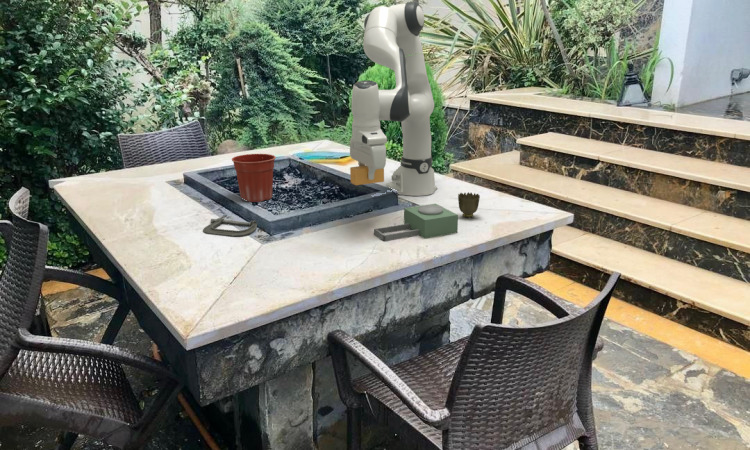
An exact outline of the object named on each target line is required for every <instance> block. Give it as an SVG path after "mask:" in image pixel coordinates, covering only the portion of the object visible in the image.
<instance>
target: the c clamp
mask: <svg viewBox="0 0 750 450" xmlns="http://www.w3.org/2000/svg"><path fill="white" fill-rule="evenodd" d="M224 218H226V215H223V216H220V217H218V218H210V224H208V225H206V226H205V227H203V229H202V232H203V233H204V234H206V235H212V236H220V237H221V236H222V237H232V238H242V237H246V236H250V235H251V234H252V233H254V232H255V231H256V230H257V228H258V222H257V221H256V220H251V221H250V222H248V221H238V220H237V221H236V220H226V219H224ZM228 224H229V225H230V226H238V227H239V226H241V227H247V228H246V229H242V230H233V229H232V230H231V229H222V228H219V227H220V226H222V225H228Z"/></svg>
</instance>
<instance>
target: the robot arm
mask: <svg viewBox="0 0 750 450" xmlns="http://www.w3.org/2000/svg"><path fill="white" fill-rule="evenodd" d="M363 24H364V26H363V27H364V35H363V42H362V43H363V51H364V53H365V55H366V57H367V58H368V59H369V60H371V61H372V62H373V63H375V64H377V65H381V66H383V67H386V68H388V69H390V70H392V71H393V72H394V77H395V87H394V88H393V89H379V85H378V83H377V81H374V80H367V79H366V80H359V81H357V82H355V83H354V84H353V86H352V93H351V102H350V103H351V113H352V122H351V132H352V134H351V135H352V136H351V137H350V142H349V156H350V158H351V159H353V160H355V161H356V162H357V163H358V165H357V166H366V165H367V166H368V169H369V172H368V174H367V178H368V179H369V180H373V179H374V173H375V170H376V169H383V168H384V169H385V167H386V164H387V163H386V161H387V148H386V144H387V143H388V137H387V136H386V134H384V132H383V130H382V129H381V121H392V122H399V123H401V132H402V156H401V158H400V166H398V167H397V168H396V169H395V170H394V171H393V172H392V175H391V180H392V181H389V182H387V183H386V186H387V188H389V187H390V188H392V189H395V190H397V191H398V194H399V195H401V196H402V195H403V196H410V197H411V196H412V197H413V196H414V197H417V196H418V197H420V196H428V195H432V194H434V193H435V192H436V190H438V186H437V185H436V181H435V178H436V177H435V170H434V168H432V166H433V157H432V132H431V122H430V117H431V115H432V114H433V111H434V110H435V101H434V97H433V92H432V88H431V85H430V81H429V78H428V74H427V73H428V72H427V68H426V61H425V57H424V50H423V45H422V41H421V38H420V36H419V35H420V33H421V32H422V30H423V28H424V25H425V14H424V10H423V8H422V6H421V5H420V4H419V3H418V2H416V1H410V2H409V1H408V2H406V3H398V4H394V5H390V6H385V5H384V6H383V5H380V6H379V5H378V6H376V7H375V8H373V9H372V10H371V11H370V12H369V13H368V14H367V15H366V17H365V19H364V21H363ZM390 188H389V189H390ZM398 194H397V195H398Z"/></svg>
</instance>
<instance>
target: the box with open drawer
mask: <svg viewBox="0 0 750 450" xmlns="http://www.w3.org/2000/svg"><path fill="white" fill-rule="evenodd" d="M403 214H404V215H403V223H402V224H395V225H391V226H383V227H378V228H374V229H373V235H374V236H375V237H377V238H378V239H380V240H381V241H383V242H388V241H394V240H398V239H399V240H400V239H405V238H409V237H415V236H416V237H417V236H420V237H421V238H424V239H429V238H434V237H439V236H448V235H451V234H456V233H458V227H459V223H458V222H459V214H457V213H456V212H453V211H452V210H449V209H447V208H445V207H443V206H441V205H439V204H437V203H429V204H422V205H418V206H417V205H415V206H411V207H404V208H403ZM405 230H407V231H405ZM399 231H400V232H399ZM393 232H394V233H393Z"/></svg>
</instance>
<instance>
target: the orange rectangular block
mask: <svg viewBox="0 0 750 450" xmlns="http://www.w3.org/2000/svg"><path fill="white" fill-rule="evenodd" d="M349 170H350V183H351V184H352V185H354V186H361V185H367V184H368V185H369V184H375V183H383V182H385V167H384V168H383V169H376V170H375V173H374V179H373V180H369V179H368V178H367V174H368V172H369V169H368V166H367V165H365V166H359V165H357V166H351V167H349Z"/></svg>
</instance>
